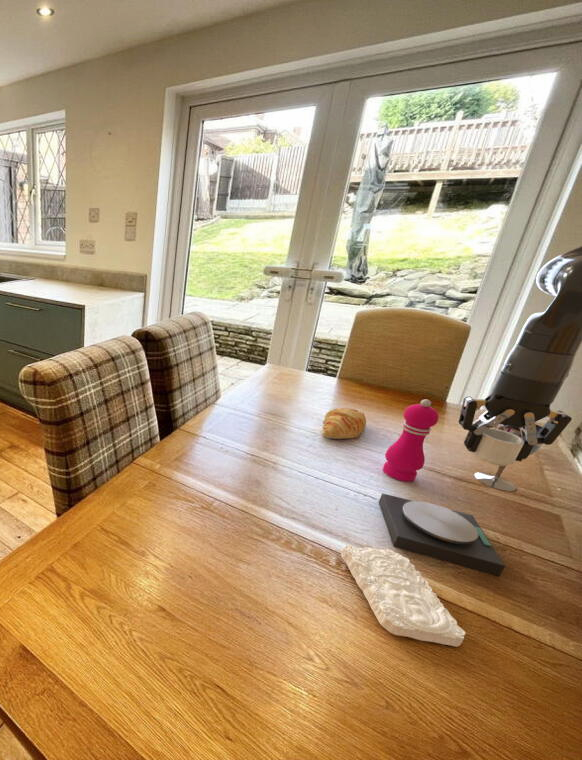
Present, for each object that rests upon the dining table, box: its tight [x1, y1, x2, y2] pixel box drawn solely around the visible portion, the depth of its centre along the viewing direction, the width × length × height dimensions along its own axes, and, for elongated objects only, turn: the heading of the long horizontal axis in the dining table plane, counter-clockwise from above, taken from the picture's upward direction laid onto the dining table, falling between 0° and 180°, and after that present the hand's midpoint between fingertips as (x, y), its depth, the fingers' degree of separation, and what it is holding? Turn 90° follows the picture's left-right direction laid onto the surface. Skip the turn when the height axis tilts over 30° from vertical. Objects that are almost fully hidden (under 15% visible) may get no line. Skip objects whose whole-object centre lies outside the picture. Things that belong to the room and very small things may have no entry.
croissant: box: [321, 407, 367, 440], centre depth 114 cm, size 21×10×8 cm, turn 124°
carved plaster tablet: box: [340, 544, 466, 648], centre depth 64 cm, size 11×16×3 cm
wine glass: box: [473, 423, 544, 492], centre depth 90 cm, size 8×8×15 cm
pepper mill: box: [382, 399, 440, 483], centre depth 92 cm, size 7×7×20 cm
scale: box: [378, 493, 506, 577], centre depth 76 cm, size 15×14×3 cm
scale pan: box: [402, 500, 478, 544], centre depth 76 cm, size 11×11×1 cm
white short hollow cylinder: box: [471, 428, 524, 467], centre depth 75 cm, size 6×6×5 cm
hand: (492, 454), depth 75 cm, fingers closed on white short hollow cylinder, 6 cm apart
